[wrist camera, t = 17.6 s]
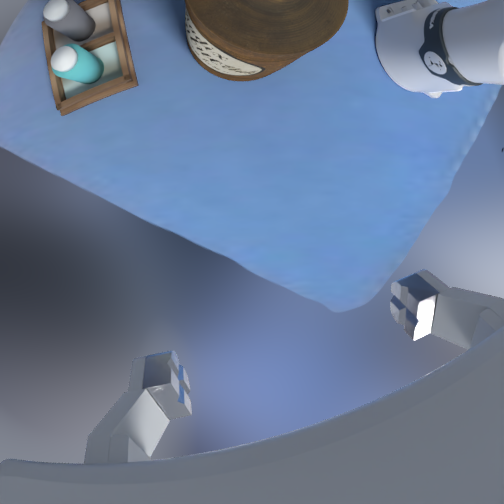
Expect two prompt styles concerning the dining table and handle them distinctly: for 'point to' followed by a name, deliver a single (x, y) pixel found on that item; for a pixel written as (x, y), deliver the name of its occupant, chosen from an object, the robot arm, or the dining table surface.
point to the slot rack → (102, 46)
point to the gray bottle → (69, 19)
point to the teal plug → (76, 64)
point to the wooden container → (258, 33)
